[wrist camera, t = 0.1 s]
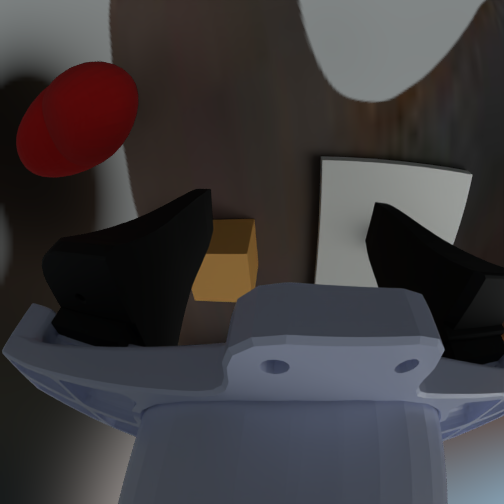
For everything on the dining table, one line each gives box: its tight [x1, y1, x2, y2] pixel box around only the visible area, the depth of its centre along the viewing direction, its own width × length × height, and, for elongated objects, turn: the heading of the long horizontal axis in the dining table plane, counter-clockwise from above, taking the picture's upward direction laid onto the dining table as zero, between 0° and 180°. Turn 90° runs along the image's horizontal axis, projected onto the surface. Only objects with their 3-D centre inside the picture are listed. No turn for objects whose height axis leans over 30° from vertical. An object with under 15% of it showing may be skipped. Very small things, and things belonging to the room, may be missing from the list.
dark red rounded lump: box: [16, 62, 138, 177], centre depth 14 cm, size 9×7×10 cm
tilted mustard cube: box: [191, 219, 258, 302], centre depth 23 cm, size 5×5×5 cm
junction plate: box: [314, 156, 472, 287], centre depth 21 cm, size 14×14×4 cm
